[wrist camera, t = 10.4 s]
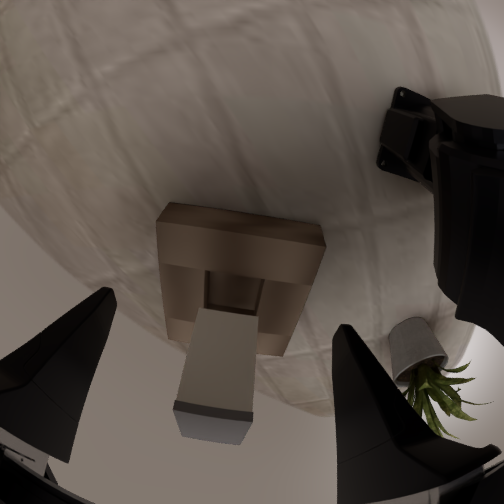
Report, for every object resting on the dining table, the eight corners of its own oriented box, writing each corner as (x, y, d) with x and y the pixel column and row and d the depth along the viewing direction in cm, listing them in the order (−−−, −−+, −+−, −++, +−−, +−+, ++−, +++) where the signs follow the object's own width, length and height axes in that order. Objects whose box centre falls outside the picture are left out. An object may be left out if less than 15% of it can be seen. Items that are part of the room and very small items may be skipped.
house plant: (352, 375, 35) (364, 478, 21) (336, 321, 28) (355, 471, 14) (440, 345, 31) (470, 441, 17) (452, 281, 23) (511, 409, 10)
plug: (259, 316, 18) (252, 422, 12) (247, 361, 21) (239, 445, 15) (198, 307, 18) (172, 409, 12) (198, 354, 21) (181, 436, 15)
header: (320, 225, 21) (326, 246, 18) (282, 334, 29) (282, 356, 27) (169, 202, 20) (155, 220, 18) (175, 317, 29) (168, 339, 26)
